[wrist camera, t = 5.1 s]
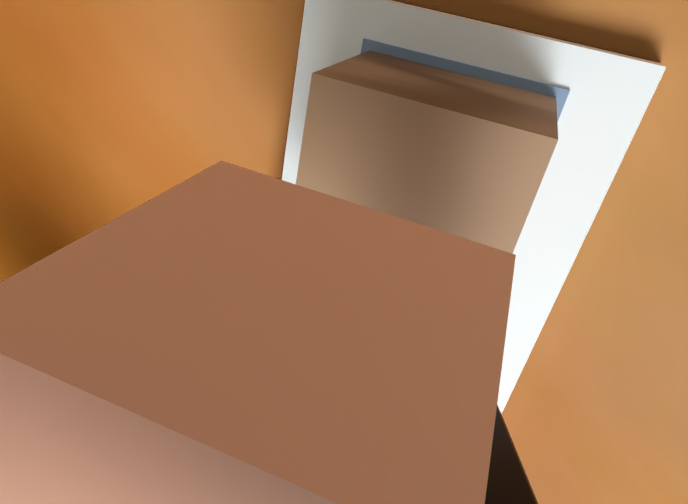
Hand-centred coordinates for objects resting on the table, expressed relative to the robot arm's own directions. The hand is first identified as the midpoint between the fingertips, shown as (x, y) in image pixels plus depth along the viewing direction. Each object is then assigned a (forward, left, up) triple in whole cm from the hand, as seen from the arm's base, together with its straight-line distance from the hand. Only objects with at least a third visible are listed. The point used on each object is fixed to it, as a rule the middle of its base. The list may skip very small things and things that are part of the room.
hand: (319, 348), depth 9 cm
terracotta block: (0, 0, -1) cm, 1 cm away
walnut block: (0, 0, -11) cm, 11 cm away
